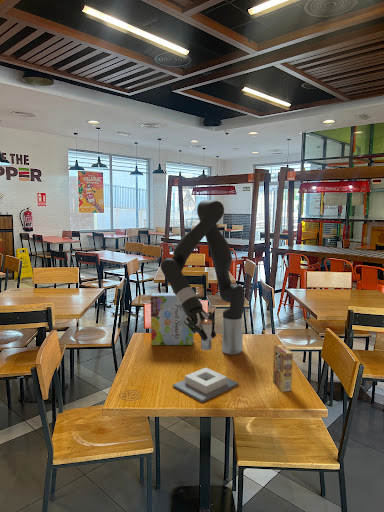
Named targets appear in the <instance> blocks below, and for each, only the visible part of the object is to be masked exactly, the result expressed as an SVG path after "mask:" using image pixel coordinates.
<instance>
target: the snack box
mask: <svg viewBox="0 0 384 512" xmlns="http://www.w3.org/2000/svg"><path fill="white" fill-rule="evenodd" d="M187 317H188V316H187V315H186V314H185V312H184V311H183V309H182V307H181V305H180V303H179V302H178V299H177V297H176V295H175V293H174V292H152V293H151V295H150V335H151V336H150V339H151V340H150V341H151V345H150V346H193V345H194V337H195V336H194V335H195V332H193V331H192V330H191V329H190V328H189V327H188V326H187V325H186V324H185V323H184V320H185V319H186V318H187ZM192 327H193V326H192ZM193 328H194V327H193Z"/></svg>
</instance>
